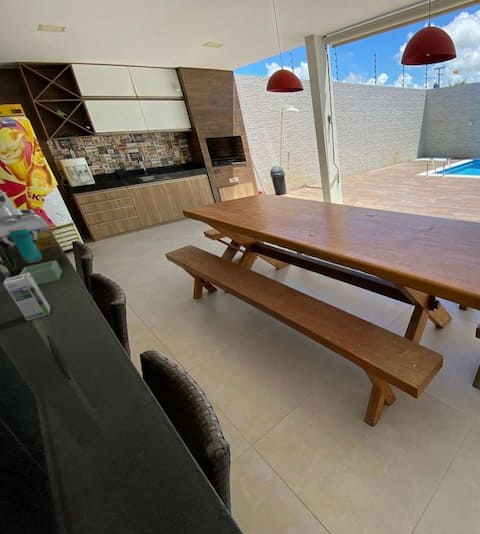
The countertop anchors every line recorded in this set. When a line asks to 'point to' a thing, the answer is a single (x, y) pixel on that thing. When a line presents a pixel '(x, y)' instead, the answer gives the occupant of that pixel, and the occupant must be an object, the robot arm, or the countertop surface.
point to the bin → (44, 272)
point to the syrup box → (27, 296)
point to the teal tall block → (25, 244)
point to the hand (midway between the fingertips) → (25, 243)
